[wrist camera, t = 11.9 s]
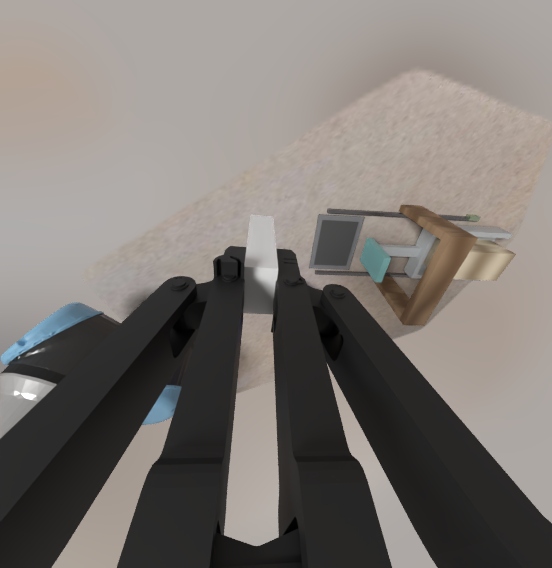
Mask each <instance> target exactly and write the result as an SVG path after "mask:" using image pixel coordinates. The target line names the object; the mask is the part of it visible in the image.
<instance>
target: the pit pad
mask: <svg viewBox="0 0 552 568" xmlns="http://www.w3.org/2000/svg"><path fill="white" fill-rule="evenodd" d="M363 220H364V217H358V216H340V215H321V214H319V216H318V221H317V227H316V232H315V238H314V243H313V249H312V255H311V260H310V266H309V268H318V269H346V270H349V267H350V264H351V261H352V257H353V254H354V251H355V247H356V244H357V240H358V237H359V234H360V230H361V227H362V224H363Z"/></svg>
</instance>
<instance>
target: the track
mask: <svg viewBox="0 0 552 568" xmlns="http://www.w3.org/2000/svg"><path fill="white" fill-rule="evenodd" d="M327 212H328V213H339V214H357V215H375V216H393V217H407V216H405V215H404V214H403V213H398V212H380V211H362V210H345V209H327ZM438 216H440V217H442V218H444V219H447V220H465V221H466V220H469V221H479V219H480V217H479V216H477V215H469V214H467V215H466V216H450V215H438ZM315 274H321V275H351V276H370V274H369V273H368V272H349V271H320V270H315ZM384 277H409V276H408V275H407V274H406V273H385V275H384Z"/></svg>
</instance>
